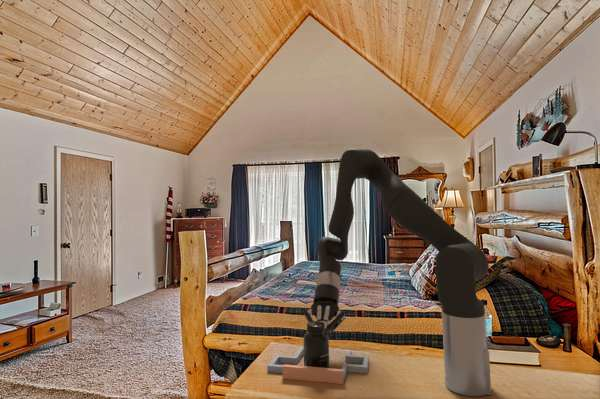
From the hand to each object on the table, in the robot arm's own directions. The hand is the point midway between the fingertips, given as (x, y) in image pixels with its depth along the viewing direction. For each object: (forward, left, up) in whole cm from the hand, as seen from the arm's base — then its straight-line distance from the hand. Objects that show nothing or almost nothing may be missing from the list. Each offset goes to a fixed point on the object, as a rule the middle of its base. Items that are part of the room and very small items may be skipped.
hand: (320, 343), depth 99 cm
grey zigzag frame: (0, +2, -5) cm, 6 cm away
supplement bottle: (0, +4, -5) cm, 7 cm away
